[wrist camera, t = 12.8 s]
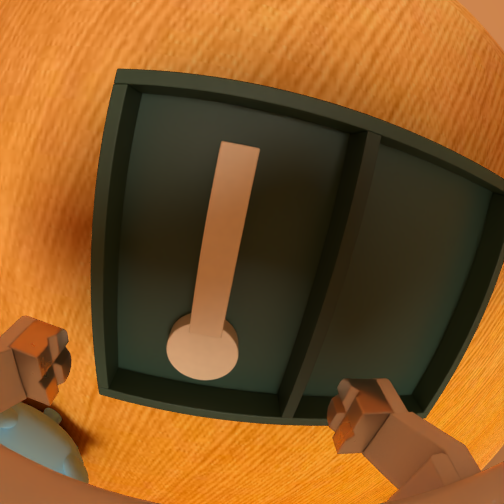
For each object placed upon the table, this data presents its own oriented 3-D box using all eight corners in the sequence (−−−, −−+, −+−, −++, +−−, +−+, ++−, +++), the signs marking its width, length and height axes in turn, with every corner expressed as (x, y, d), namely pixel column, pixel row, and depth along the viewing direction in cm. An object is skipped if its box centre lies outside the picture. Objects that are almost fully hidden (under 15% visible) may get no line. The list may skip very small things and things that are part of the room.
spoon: (199, 138, 15) (193, 136, 13) (280, 154, 16) (288, 154, 14) (167, 360, 19) (161, 383, 17) (231, 371, 20) (231, 395, 18)
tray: (136, 81, 15) (117, 68, 12) (494, 183, 17) (522, 190, 14) (111, 367, 20) (98, 394, 17) (411, 396, 23) (425, 418, 20)
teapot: (13, 358, 20) (-43, 429, 10) (122, 445, 23) (99, 529, 14) (-10, 406, 22) (-46, 459, 12) (75, 472, 25) (54, 532, 16)
